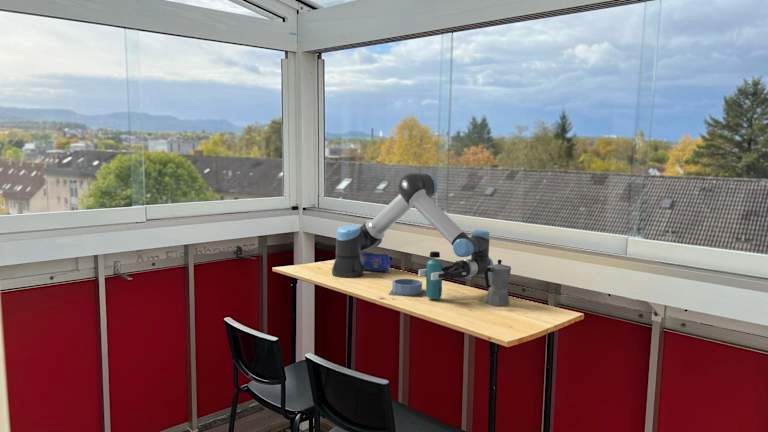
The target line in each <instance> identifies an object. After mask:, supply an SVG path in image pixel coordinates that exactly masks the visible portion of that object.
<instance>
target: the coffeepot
mask: <svg viewBox="0 0 768 432" xmlns="http://www.w3.org/2000/svg"><path fill="white" fill-rule="evenodd" d="M502 261H503V260H501V259H498V260H497V263H496V264H493V265H490V266H488V267H487V268H486V269H485V271H484V275H483V276H484V281H485V285H486V288H488V291H487V295H486V299H485V300H486V301H485V303H486V305H489V306H492V307H500V308H501V306H503V307H508V306H509V304H510V301H509V300H510V298H509V292H508V285H509V280H510V277H511V276H510V275H511V271H512V267H511V266H510V265H506V264H502ZM507 305H508V306H507Z"/></svg>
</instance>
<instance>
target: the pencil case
mask: <svg viewBox="0 0 768 432" xmlns="http://www.w3.org/2000/svg"><path fill="white" fill-rule="evenodd" d="M360 261H361V264H362V268H363V271H369V270H371V272H380V271H383V273H386V272H387V273H389V271H390V267H391V262H392V261H394V260H393V257H392V256H389V255H388V254H386V253H379V254H378V253H366V252H365V253H364V252H363V253H362V252H360Z"/></svg>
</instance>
